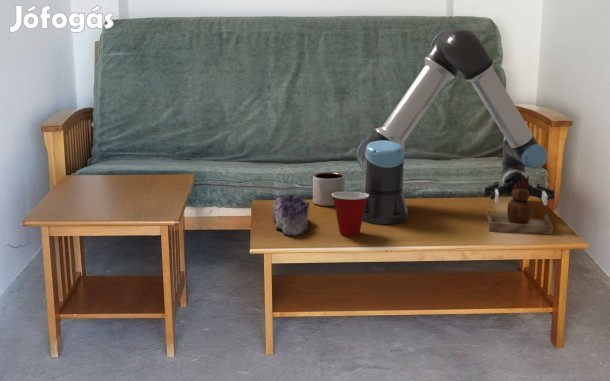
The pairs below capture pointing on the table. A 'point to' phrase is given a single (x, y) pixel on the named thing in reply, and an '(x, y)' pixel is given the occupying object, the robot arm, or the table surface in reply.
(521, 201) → the wooden figurine
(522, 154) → the robot arm
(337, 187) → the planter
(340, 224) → the plastic cup
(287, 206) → the geode
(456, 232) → the table surface
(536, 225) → the tray
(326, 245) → the table surface
